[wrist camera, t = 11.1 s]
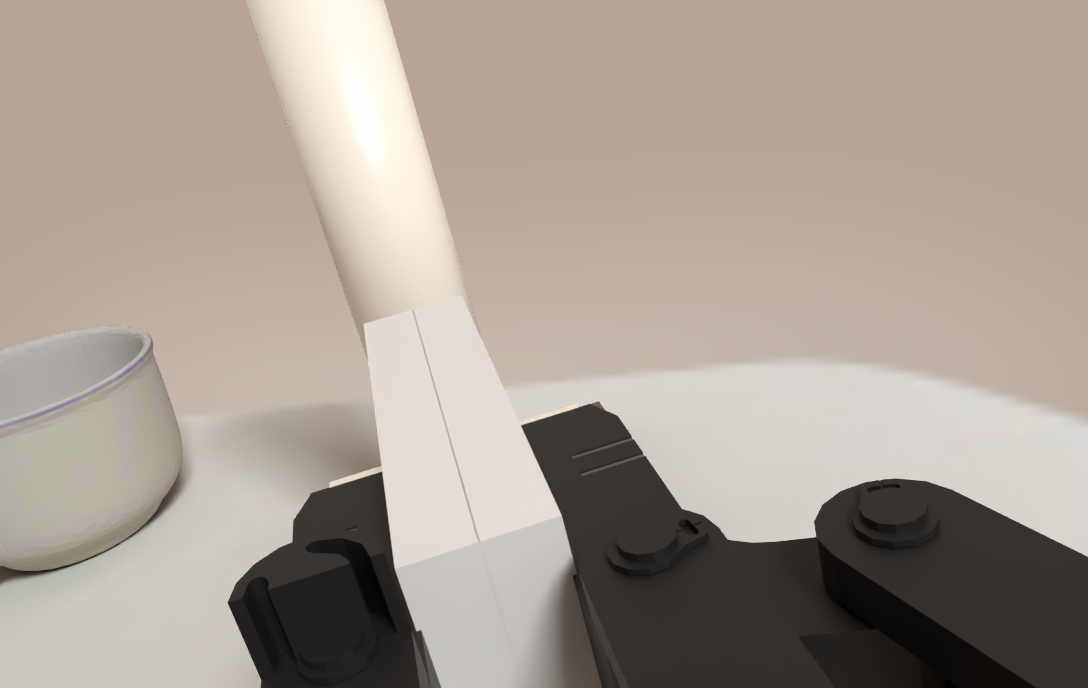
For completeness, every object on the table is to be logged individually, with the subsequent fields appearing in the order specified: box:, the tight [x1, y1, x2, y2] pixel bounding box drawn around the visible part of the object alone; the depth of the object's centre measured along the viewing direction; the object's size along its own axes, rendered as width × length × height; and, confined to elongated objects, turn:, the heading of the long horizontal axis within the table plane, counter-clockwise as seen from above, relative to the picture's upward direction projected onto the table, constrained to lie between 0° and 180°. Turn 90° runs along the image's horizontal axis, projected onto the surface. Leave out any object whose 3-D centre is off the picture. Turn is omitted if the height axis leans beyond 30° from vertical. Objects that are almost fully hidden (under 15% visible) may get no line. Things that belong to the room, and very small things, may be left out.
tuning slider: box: [245, 0, 579, 488], centre depth 30 cm, size 4×9×18 cm, turn 102°
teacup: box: [0, 326, 182, 571], centre depth 41 cm, size 14×11×8 cm
